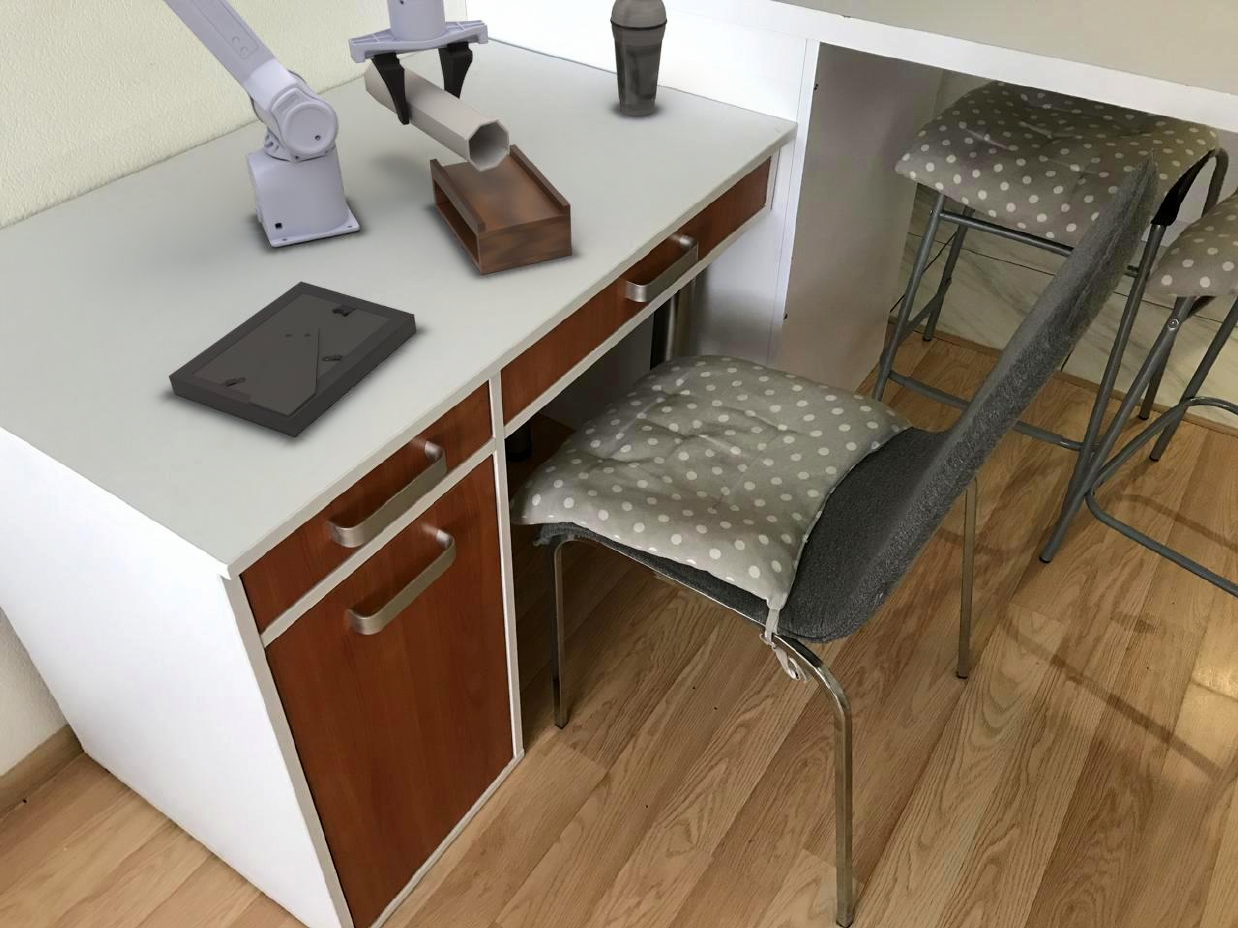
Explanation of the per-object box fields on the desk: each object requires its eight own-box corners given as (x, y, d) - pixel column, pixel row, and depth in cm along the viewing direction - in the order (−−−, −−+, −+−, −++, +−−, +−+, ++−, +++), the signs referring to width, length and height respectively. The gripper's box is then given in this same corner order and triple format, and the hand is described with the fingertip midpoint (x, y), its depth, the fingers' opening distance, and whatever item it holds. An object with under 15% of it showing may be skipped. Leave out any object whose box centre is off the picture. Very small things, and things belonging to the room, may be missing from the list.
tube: (347, 66, 120) (458, 138, 105) (385, 42, 122) (500, 109, 106) (367, 106, 125) (477, 181, 109) (403, 83, 126) (517, 153, 111)
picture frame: (295, 437, 88) (416, 331, 100) (289, 416, 86) (413, 311, 99) (173, 394, 92) (304, 297, 104) (166, 373, 91) (300, 277, 103)
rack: (482, 274, 108) (477, 223, 104) (434, 208, 119) (429, 159, 115) (571, 254, 111) (570, 204, 107) (518, 191, 122) (515, 144, 118)
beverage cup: (602, 102, 142) (602, -58, 129) (653, 96, 144) (658, -62, 131) (619, 123, 137) (620, -41, 124) (671, 117, 139) (678, -46, 126)
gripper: (468, -32, 112) (478, 94, 121) (333, -15, 108) (354, 115, 116) (491, -13, 108) (500, 116, 116) (351, 5, 103) (371, 139, 112)
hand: (428, 117), depth 116 cm, fingers closed on tube, 5 cm apart
